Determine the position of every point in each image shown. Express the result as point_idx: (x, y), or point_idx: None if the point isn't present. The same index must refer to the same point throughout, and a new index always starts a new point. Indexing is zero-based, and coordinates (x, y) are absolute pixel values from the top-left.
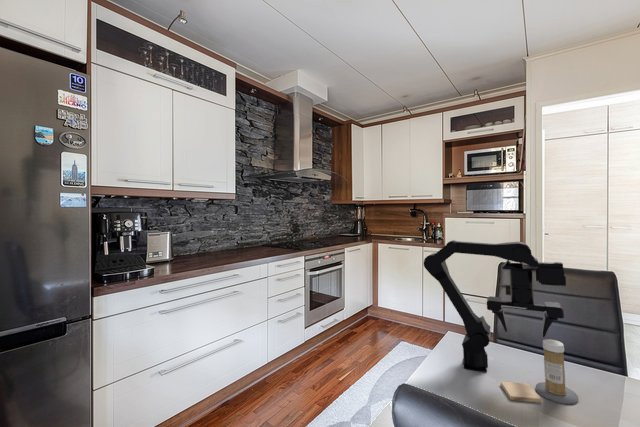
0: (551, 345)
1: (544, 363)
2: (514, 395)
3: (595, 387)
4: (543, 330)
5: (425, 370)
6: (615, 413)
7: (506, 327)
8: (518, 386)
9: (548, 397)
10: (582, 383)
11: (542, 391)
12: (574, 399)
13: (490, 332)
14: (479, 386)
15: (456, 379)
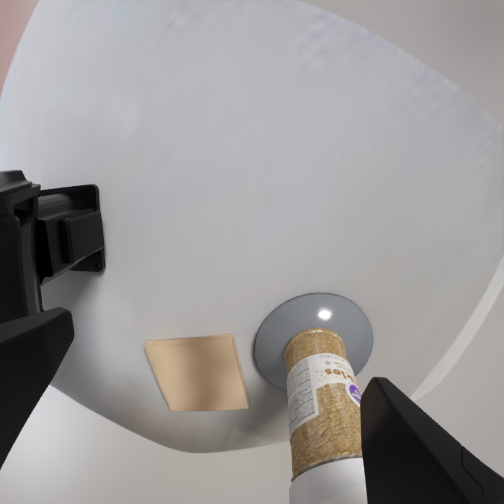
0: None
1: (289, 422)
2: (180, 407)
3: (454, 259)
4: (367, 483)
5: None
6: (417, 381)
7: (48, 384)
8: (196, 364)
9: (277, 386)
10: (433, 243)
11: (269, 363)
12: None
13: (11, 233)
14: (97, 357)
15: None
